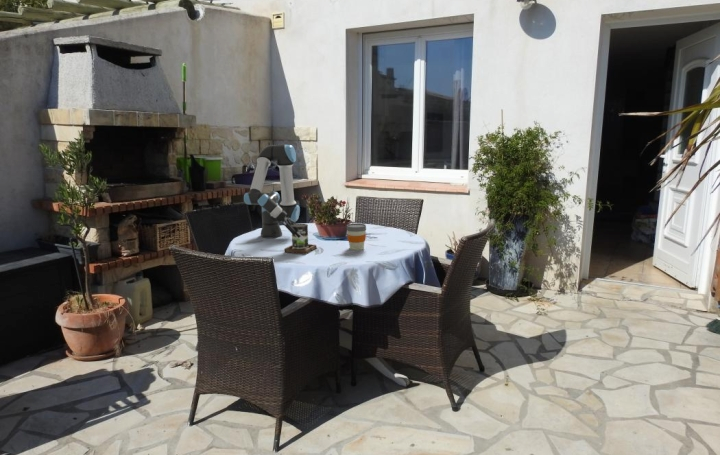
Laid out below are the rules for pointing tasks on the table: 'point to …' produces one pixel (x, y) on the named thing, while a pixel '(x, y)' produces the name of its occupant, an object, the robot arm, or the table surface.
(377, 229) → the table surface
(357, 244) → the reusable coffee cup
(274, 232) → the robot arm
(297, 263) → the table surface
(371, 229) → the table surface
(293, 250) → the wooden tray
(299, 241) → the coffee can
